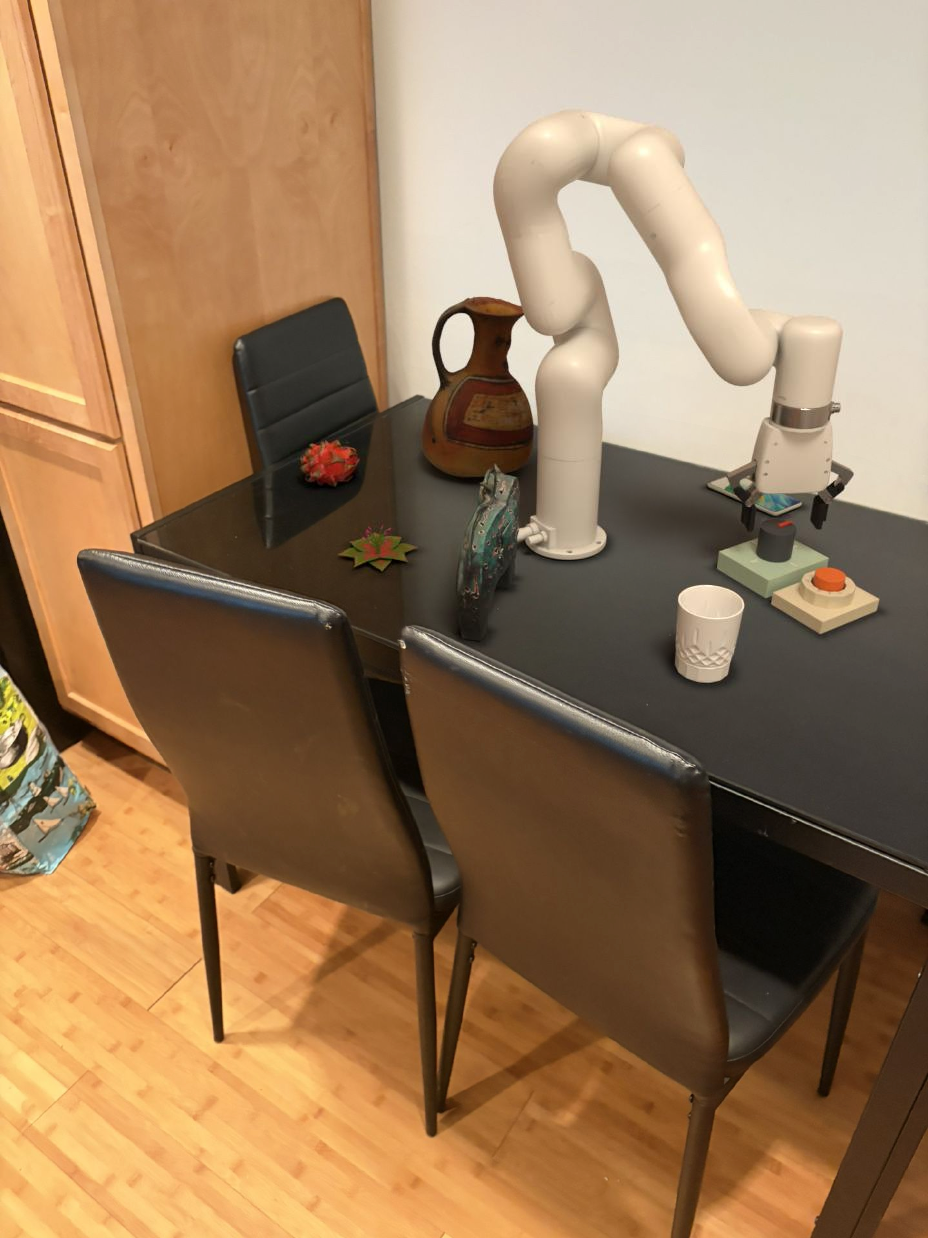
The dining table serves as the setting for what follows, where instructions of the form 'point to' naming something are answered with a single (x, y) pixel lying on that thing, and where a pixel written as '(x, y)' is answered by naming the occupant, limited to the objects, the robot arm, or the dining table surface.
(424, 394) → the dining table surface
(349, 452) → the dragon fruit
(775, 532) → the program dial
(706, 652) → the white cup
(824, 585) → the button
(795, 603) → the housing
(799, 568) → the panel
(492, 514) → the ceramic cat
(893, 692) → the dining table surface
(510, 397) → the ceramic pitcher
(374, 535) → the lily flower
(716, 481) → the smartphone
